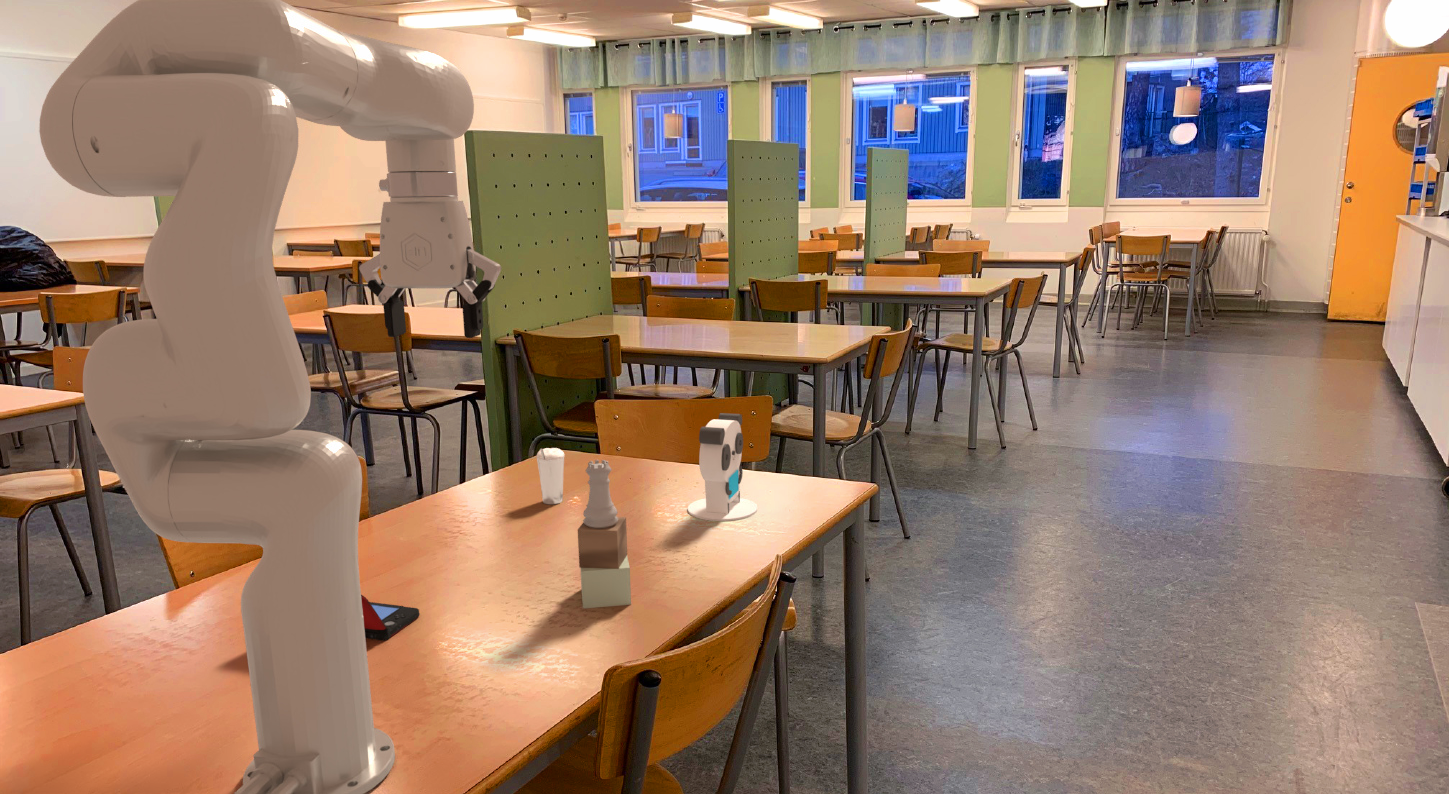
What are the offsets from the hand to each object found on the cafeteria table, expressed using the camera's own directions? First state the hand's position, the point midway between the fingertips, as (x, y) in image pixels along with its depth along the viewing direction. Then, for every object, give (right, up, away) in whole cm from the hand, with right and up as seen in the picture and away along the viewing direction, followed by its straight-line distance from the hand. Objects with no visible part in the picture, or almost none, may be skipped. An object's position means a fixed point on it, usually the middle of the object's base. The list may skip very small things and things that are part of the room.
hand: (434, 335), depth 116 cm
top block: (+19, -28, +8) cm, 35 cm away
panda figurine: (+34, -26, +42) cm, 60 cm away
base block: (+19, -33, +9) cm, 39 cm away
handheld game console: (-10, -36, +1) cm, 37 cm away
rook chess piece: (+19, -23, +7) cm, 31 cm away
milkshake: (+6, -25, +47) cm, 54 cm away
